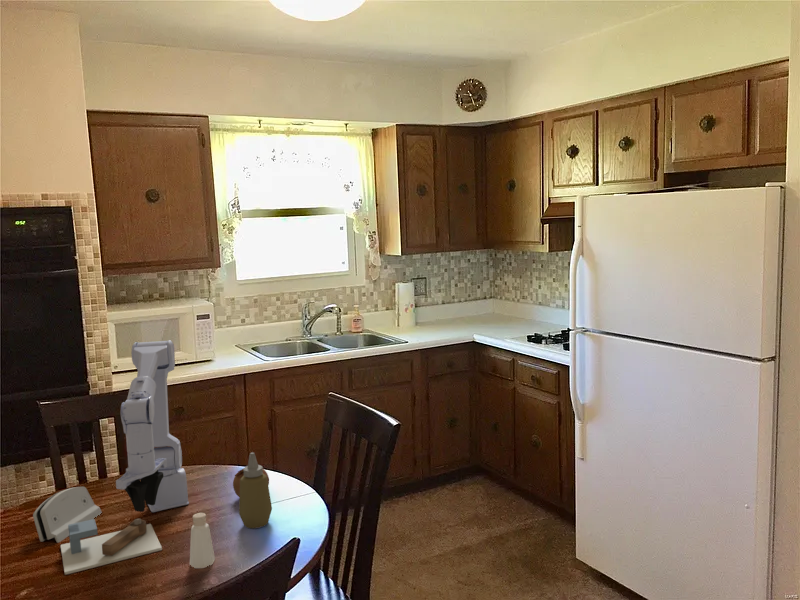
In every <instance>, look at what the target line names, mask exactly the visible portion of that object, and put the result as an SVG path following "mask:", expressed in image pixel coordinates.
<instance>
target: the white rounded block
mask: <svg viewBox="0 0 800 600" xmlns="http://www.w3.org/2000/svg"><path fill="white" fill-rule="evenodd" d="M101 513H102V514H103V512H102V509H101V508H100V506H98V505H96V504H95V502H94V500H93V498H92V497H91V495H90V493H89V491H88V489H87V488H86V487H85V486H76V487H75V486H74V487H70V488H66V489H63V490H60V491H58V492H56V493H54V494H53V495H51V496H49V497H48V498H47V499H45V500H44V501H42V503H40V505H39V506H38V507H37V508H36V509H35V511H33V514H32V518H33V520H34V525H35V528H36V531H37V535H38V539H39V542H45V541H46V540H48V541H49V540H51V539H54V540H55V541H56V543H60V542H62V541H63V540H65V539H66V538H68V537H69V529H68V525H70V524H74V523H79V522H83V521H87V520H92V519H94V518H95V517H96V518H97V516H98V515H99V516H101V515H102V514H101ZM100 514H101V515H100ZM99 516H98V517H99ZM96 518H95V519H96Z"/></svg>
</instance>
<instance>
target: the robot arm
mask: <svg viewBox="0 0 800 600" xmlns="http://www.w3.org/2000/svg"><path fill="white" fill-rule="evenodd" d="M175 359H176V358H175V346H174V342H173V341H172V340H171V339H169V340H159V341H142V342H141V341H139V342H138V341H135V342H133V344H132V345H131V361H132V364H133V365H134V366H135V369H136V370H137V376H136V377H135V378H133V379H132V380H131V382H130V386H129V390H128V395H127V397H126V400H125V401H123V402H121V405H120V419H121V420H120V421H121V424H122V429H123V434H125V438H126V439H125V440H126V441H125V442H126V452H127V468H125V473H124V474H123V475H121V476H120V477H119V478H118V479H116V480H115V487H116V489H117V490H124V491H125V492H126V493H127V495H128V497H129V499H130V500H131V503H132V506H133V508H134V511H135V512H140V513H143V512H144V511H145V507H146V505H147V506H148V508H149V510H150V512H151V513H156V512H160V511H165V510H168V509H173V508H179V507H182V506H187V505H189V504H190V502H189V496H188V494H189V493H188V481H187V474H186V470H185V468H184V467H182V465H183V456H182V455H183V453H182V452H183V451H182V446H181V442H180V439H178V438H177V437H175V436H174V435H172V434H171V433H170V426H169V424H170V423H169V402H168V401H169V400H168V376H169V373H170V372H172V371H174V370H175V366H176V362H175Z"/></svg>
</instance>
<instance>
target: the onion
mask: <svg viewBox="0 0 800 600" xmlns="http://www.w3.org/2000/svg"><path fill="white" fill-rule="evenodd" d="M244 468H245V467H243V468H242V469H240V470H238V471H237V473H236V474H234V477H233V480H232V481H233V482H232V488H233V490H234V493H235V494H236V496H237V497H238V498H239V496H240V479H241V478H242V477H243V476H244V471H243V469H244ZM263 474H265V475H266V476H267V481H268V486H269V485H270V477H269V474H268V472H267V471H266V469H265V468H263Z"/></svg>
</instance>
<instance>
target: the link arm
mask: <svg viewBox="0 0 800 600" xmlns="http://www.w3.org/2000/svg"><path fill="white" fill-rule="evenodd" d="M146 525H147V520H144V519H141V518H135V519H134V520H133V521H132V522H130V523H129V525H128V526H126V527H125V528H124V529H122V531H121V530H120V531H121V532H119V533H118V534H116V535H115V536H113V537H112V538H110V539H109V540H107V541H106V542H105V543H103V544H102V553H103V555H111V556H112V555H113V554H115V553H116V552H118V551H119V550H120V549H122V548H123V547H124V546H126V545H127V544H129V543H130V542H131V541H133V540H134V539H135V538H137V537H138V536H140V535H143V534H145V533H146V531H147V527H146Z"/></svg>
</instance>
